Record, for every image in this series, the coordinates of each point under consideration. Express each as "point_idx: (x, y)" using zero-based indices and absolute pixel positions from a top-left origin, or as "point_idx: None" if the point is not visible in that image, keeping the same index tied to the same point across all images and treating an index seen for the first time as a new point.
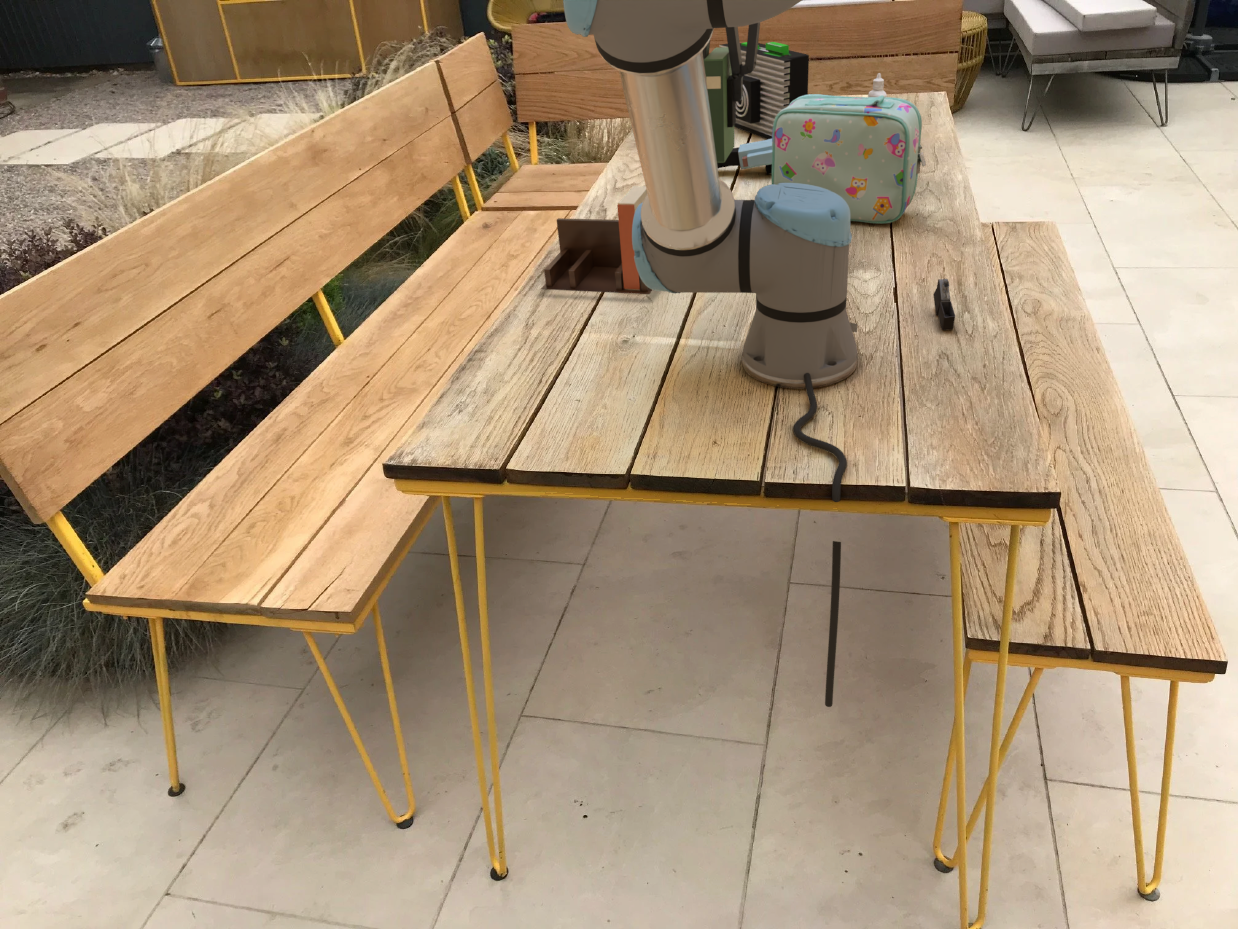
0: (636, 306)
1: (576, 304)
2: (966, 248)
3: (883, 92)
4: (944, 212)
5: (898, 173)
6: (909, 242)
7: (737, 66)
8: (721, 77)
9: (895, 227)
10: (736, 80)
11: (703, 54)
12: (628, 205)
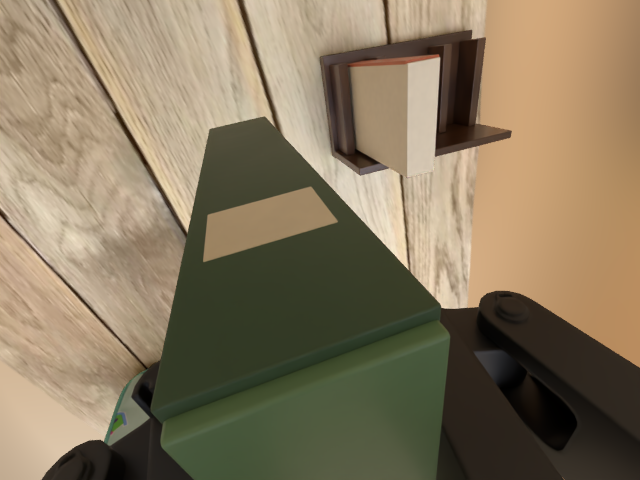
0: (330, 30)
1: (413, 12)
2: (11, 355)
3: None
4: (111, 415)
5: (117, 427)
6: (94, 342)
7: (164, 461)
8: (192, 257)
9: (138, 367)
10: None
11: (481, 458)
12: (416, 58)
